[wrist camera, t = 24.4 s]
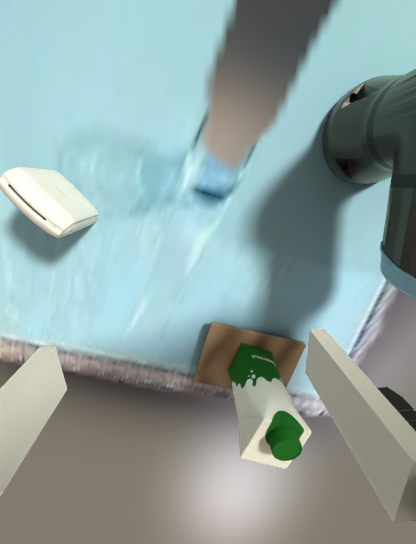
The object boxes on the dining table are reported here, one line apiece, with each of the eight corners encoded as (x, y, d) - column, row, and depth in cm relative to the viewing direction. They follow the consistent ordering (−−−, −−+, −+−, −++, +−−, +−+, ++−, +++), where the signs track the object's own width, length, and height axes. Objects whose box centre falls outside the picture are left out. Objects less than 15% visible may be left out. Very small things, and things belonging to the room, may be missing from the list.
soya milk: (277, 349, 52) (325, 445, 33) (258, 383, 54) (292, 489, 35) (238, 337, 50) (265, 429, 31) (221, 372, 53) (235, 477, 34)
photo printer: (104, 214, 44) (71, 225, 32) (87, 230, 45) (50, 247, 33) (56, 166, 41) (2, 158, 30) (39, 183, 42) (-20, 183, 30)
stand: (299, 336, 54) (305, 345, 52) (277, 387, 59) (281, 397, 56) (210, 317, 52) (211, 324, 49) (193, 371, 56) (193, 381, 53)
